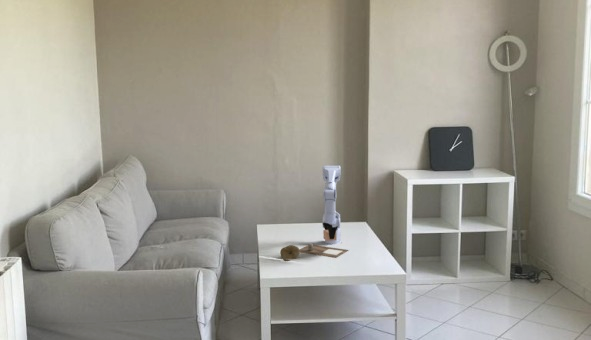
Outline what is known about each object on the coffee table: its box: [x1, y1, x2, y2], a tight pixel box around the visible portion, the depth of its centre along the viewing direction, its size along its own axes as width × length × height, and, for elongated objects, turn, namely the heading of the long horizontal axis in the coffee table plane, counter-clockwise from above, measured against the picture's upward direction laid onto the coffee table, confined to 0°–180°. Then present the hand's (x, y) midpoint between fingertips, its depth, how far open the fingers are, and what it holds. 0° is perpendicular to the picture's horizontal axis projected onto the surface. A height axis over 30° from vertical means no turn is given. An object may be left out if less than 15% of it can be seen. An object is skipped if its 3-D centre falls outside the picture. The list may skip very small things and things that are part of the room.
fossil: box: [280, 244, 300, 262], centre depth 311 cm, size 9×4×10 cm
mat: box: [323, 249, 343, 255], centre depth 318 cm, size 8×8×1 cm
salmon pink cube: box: [322, 229, 336, 241], centre depth 317 cm, size 5×5×4 cm
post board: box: [299, 242, 350, 259], centre depth 321 cm, size 16×24×4 cm, turn 60°
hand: (330, 237), depth 317 cm, fingers closed on salmon pink cube, 5 cm apart
